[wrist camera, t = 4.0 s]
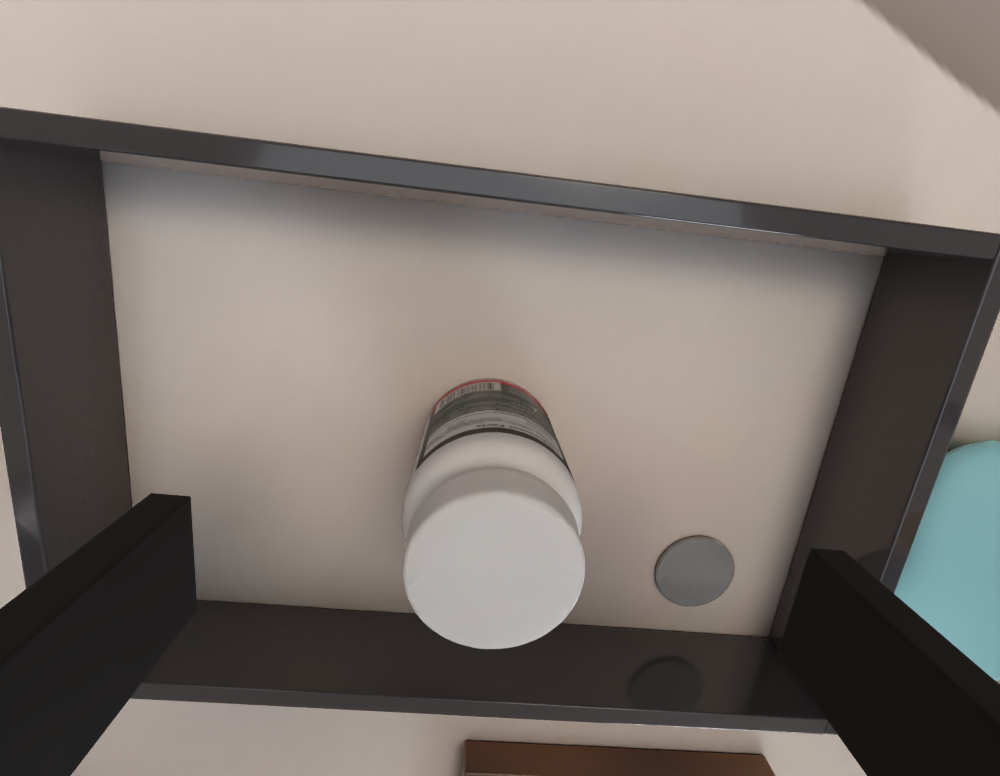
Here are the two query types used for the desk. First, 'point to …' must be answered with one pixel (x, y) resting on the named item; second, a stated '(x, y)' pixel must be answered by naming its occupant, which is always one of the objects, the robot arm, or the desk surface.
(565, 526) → the pill bottle
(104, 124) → the dark grey tray frame
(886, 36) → the desk surface
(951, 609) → the penguin figurine
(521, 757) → the board
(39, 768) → the robot arm
